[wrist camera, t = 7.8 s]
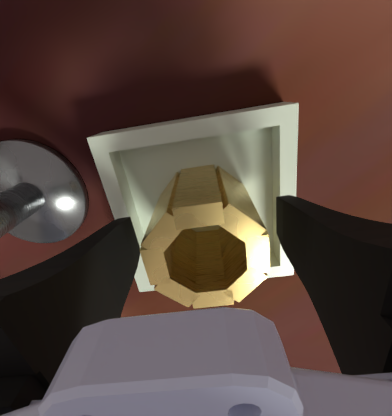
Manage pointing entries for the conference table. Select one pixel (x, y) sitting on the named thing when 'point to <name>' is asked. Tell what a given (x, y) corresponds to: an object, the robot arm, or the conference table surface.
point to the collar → (205, 240)
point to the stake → (39, 192)
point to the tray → (201, 156)
